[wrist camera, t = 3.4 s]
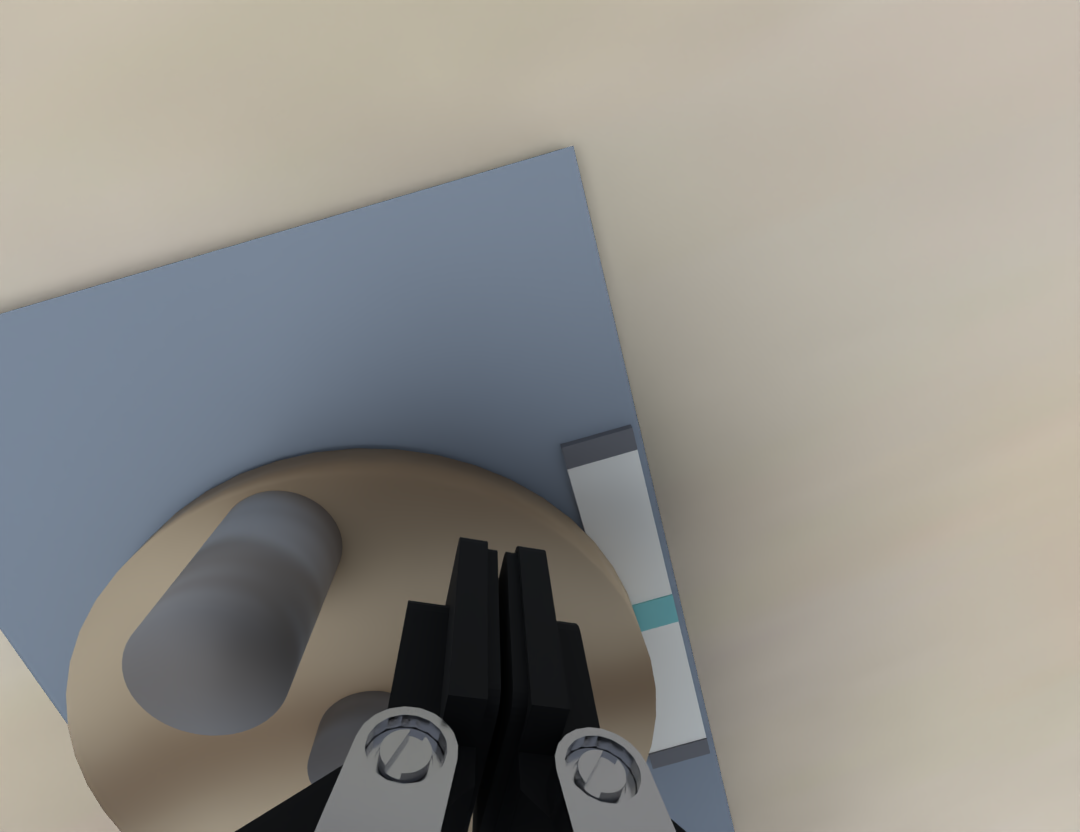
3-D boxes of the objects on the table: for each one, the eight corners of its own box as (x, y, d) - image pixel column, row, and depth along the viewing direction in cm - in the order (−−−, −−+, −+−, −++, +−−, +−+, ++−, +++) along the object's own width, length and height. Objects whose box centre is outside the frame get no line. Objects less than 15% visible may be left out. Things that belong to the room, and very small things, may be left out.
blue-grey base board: (730, 840, 23) (749, 890, 22) (283, 962, 23) (268, 1020, 22) (565, 149, 15) (574, 145, 13) (-122, 351, 15) (-196, 371, 14)
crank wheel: (692, 825, 20) (762, 1044, 15) (258, 943, 20) (180, 1199, 15) (571, 376, 15) (616, 476, 10) (-13, 544, 15) (-272, 728, 10)
